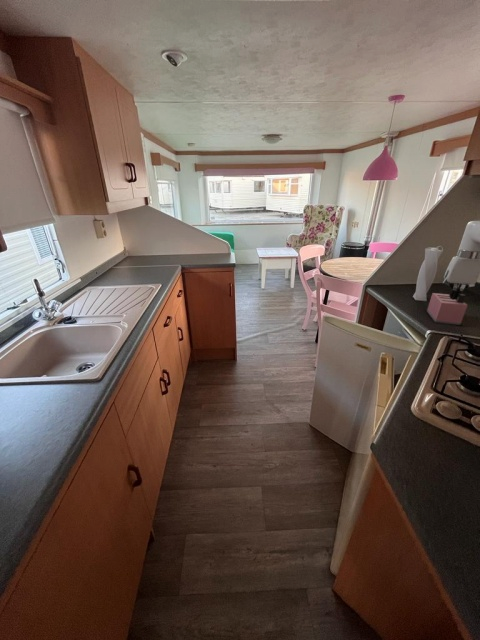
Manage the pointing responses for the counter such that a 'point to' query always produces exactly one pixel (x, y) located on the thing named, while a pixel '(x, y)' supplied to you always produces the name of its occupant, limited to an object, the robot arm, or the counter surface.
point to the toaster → (446, 309)
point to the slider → (461, 298)
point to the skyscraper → (427, 273)
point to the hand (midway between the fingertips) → (453, 298)
